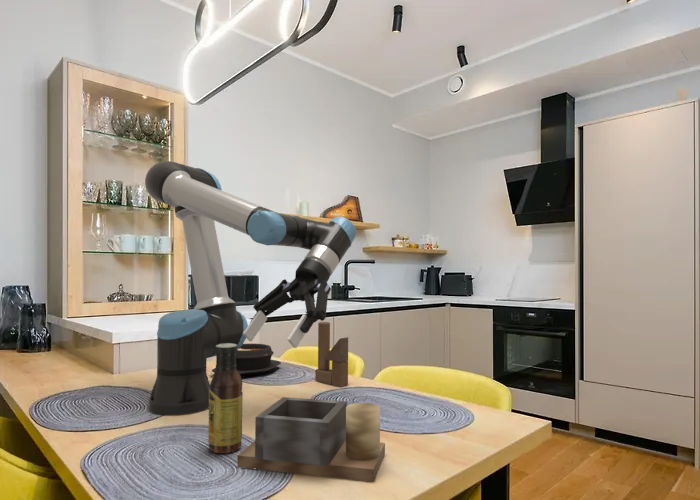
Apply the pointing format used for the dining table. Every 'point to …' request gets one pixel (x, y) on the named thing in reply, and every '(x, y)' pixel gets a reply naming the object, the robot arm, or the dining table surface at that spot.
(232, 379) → the sauce bottle
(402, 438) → the dining table surface
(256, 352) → the casserole
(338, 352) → the wooden block
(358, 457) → the post socket
